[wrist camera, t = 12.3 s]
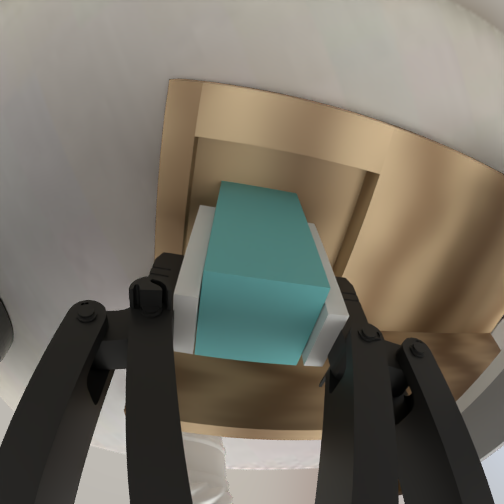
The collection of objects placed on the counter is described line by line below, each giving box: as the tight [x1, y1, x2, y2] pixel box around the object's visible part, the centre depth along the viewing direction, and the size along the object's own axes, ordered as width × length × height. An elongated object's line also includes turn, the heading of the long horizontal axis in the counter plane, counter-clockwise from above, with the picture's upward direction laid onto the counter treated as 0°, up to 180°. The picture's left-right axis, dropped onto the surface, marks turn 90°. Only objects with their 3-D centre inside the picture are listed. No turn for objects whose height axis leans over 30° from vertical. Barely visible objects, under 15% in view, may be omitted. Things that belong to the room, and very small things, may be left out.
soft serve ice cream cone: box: [182, 432, 233, 504], centre depth 21 cm, size 8×8×16 cm
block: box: [195, 181, 330, 365], centre depth 14 cm, size 4×4×8 cm
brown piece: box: [124, 79, 504, 440], centre depth 15 cm, size 28×14×10 cm, turn 79°
